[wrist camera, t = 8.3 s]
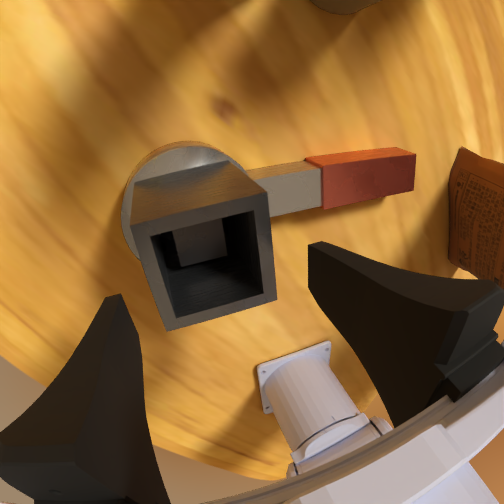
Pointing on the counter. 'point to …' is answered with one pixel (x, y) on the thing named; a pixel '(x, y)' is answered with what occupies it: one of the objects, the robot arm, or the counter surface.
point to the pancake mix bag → (477, 216)
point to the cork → (343, 5)
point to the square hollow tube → (214, 270)
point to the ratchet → (273, 188)
